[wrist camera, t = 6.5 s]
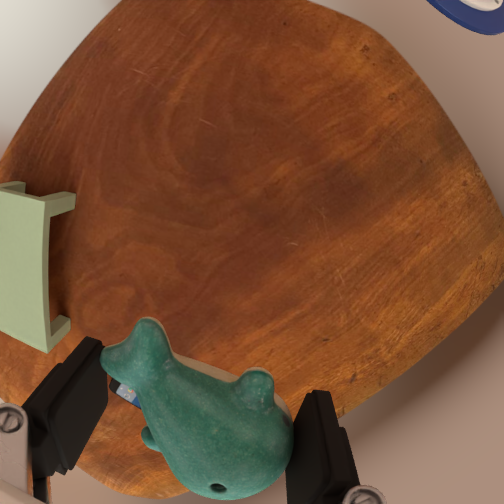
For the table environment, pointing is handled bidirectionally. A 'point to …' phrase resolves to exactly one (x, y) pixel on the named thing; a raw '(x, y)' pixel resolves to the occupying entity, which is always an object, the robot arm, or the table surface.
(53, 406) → the robot arm
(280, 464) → the whale figurine
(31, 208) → the miniature table
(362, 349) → the table surface
